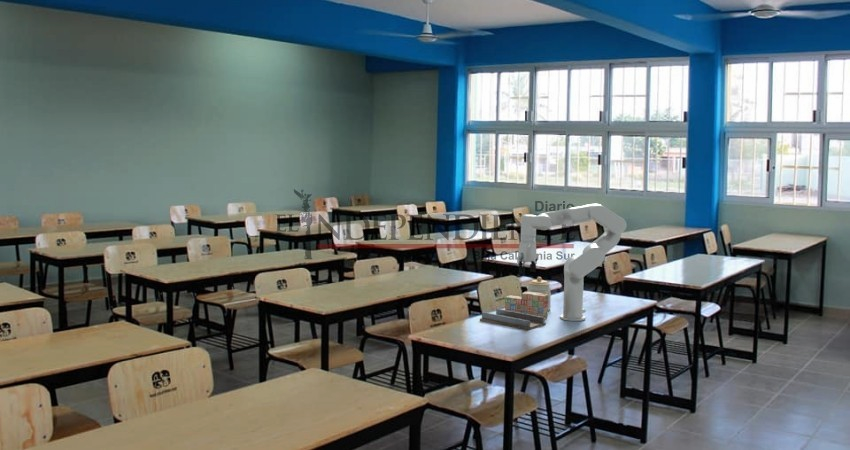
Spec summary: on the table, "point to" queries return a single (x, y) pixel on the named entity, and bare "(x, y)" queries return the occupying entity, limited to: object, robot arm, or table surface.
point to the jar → (540, 288)
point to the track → (513, 319)
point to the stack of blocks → (528, 304)
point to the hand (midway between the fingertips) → (527, 272)
